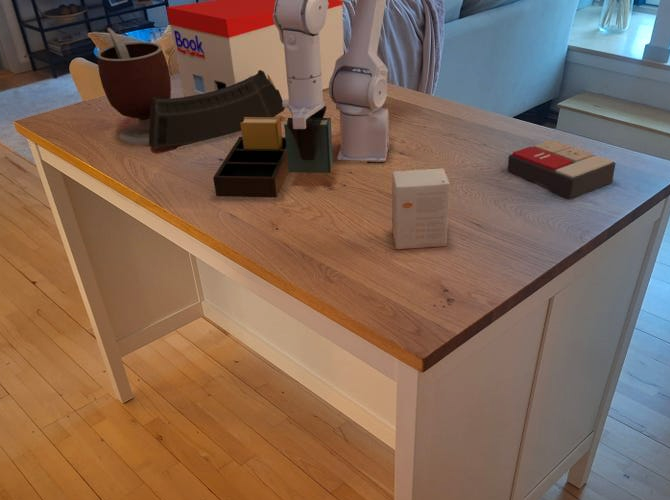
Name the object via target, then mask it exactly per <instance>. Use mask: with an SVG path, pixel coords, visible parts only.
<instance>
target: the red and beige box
mask: <svg viewBox="0 0 670 500" xmlns="http://www.w3.org/2000/svg"><path fill="white" fill-rule="evenodd" d="M616 164H617V163H616V162H614V161H613V160H612V159H608V158H605V157H603V156H601V155H600V156H599V155H594V153H593V152H591V151H588V150H585V149H582V148H579V147H576V146H571V145H570V144H566V143H563V142H561V141H559V140H555V139H548V140H545V141H543V142H540V143H536V144H535V145H533V146H528V147H525V148H522V149H519V150H515V151H513V152H512V154H509V155H508V160H507V172H508V173H511V174H514V175H516V176H518V177H521V178H523V179H526V180H529V181H531V182H534V183H535V184H538V185H541V186H543V187H546V188H548V189H549V190H550V191H551V193H553V194H555V195H557V196H560V197H562V198H565V199H566V200H570V199H573V198H576V197H579V196H580V195H583V194H586V193H588V192H592V191H594V190H596V189H600V188H601V187H604V186H607V185H609V184H612V183H613V180H614V173H615V169H616Z"/></svg>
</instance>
